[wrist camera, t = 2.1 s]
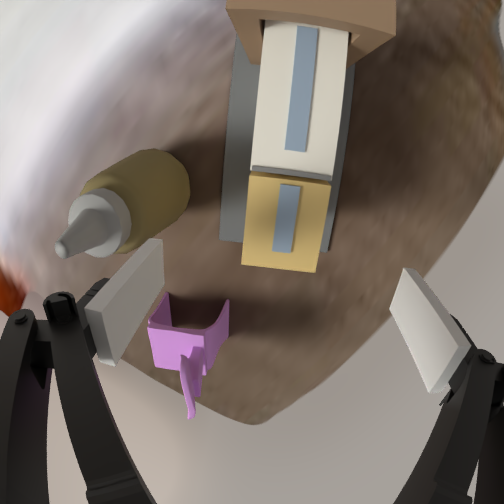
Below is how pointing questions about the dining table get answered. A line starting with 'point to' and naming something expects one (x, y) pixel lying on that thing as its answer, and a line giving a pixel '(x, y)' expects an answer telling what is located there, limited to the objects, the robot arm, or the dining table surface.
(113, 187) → the squeeze bottle
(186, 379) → the pink scoop
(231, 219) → the mat
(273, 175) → the stub
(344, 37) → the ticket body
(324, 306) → the dining table surface
